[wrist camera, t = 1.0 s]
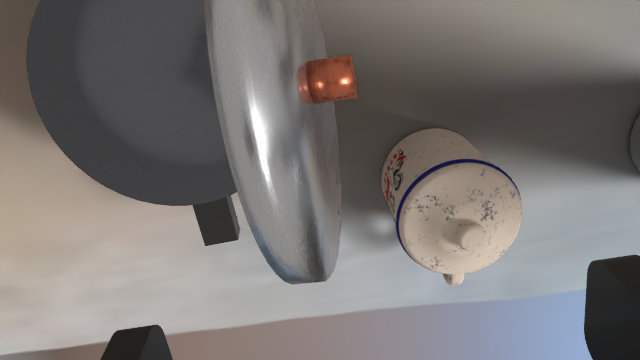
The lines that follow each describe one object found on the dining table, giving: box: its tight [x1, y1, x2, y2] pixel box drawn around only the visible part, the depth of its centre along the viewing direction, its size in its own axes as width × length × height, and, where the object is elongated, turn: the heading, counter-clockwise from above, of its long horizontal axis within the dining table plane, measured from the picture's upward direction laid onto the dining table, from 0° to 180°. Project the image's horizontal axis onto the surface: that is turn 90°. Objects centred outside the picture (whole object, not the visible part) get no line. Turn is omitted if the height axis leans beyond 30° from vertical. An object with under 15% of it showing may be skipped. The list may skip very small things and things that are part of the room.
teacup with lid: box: [381, 128, 522, 285], centre depth 40 cm, size 12×9×12 cm
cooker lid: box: [204, 0, 357, 284], centre depth 23 cm, size 17×17×3 cm
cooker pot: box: [27, 0, 240, 246], centre depth 36 cm, size 16×24×10 cm, turn 10°
